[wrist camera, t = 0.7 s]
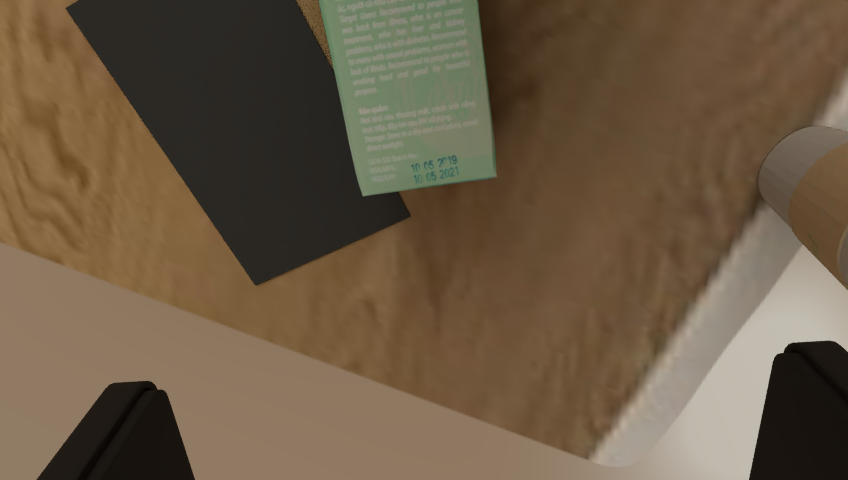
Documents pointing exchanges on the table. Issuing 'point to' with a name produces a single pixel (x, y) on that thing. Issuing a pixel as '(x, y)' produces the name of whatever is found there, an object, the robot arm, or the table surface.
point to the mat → (243, 121)
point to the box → (412, 91)
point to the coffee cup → (812, 192)
